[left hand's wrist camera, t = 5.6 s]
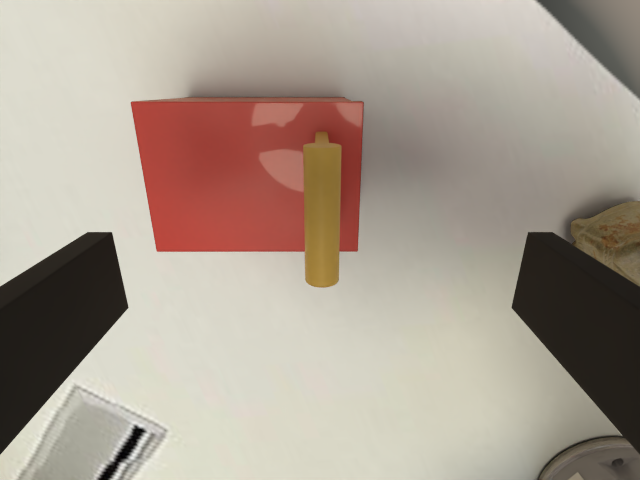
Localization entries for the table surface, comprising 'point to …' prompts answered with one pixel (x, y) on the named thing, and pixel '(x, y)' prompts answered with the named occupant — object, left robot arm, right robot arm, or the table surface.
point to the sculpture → (612, 238)
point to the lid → (254, 177)
